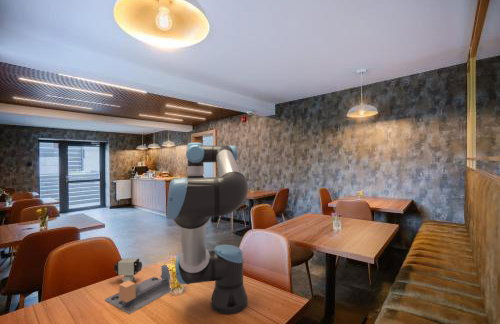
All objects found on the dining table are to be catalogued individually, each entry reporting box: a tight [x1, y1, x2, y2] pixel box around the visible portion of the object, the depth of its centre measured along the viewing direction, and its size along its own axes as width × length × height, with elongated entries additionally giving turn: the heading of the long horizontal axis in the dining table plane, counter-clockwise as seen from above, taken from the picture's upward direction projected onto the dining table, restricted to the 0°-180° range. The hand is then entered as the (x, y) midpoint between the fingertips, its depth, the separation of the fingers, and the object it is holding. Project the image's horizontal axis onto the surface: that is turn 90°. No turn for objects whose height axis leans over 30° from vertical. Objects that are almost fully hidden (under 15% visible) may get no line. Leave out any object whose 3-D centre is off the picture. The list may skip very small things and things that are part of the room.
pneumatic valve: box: [113, 257, 143, 283], centre depth 122 cm, size 6×12×12 cm, turn 89°
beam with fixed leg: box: [122, 264, 171, 307], centre depth 110 cm, size 6×22×8 cm, turn 148°
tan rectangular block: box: [118, 280, 136, 303], centre depth 102 cm, size 6×4×8 cm, turn 58°
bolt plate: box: [104, 276, 172, 315], centre depth 111 cm, size 18×24×1 cm
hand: (196, 224), depth 118 cm, fingers closed
